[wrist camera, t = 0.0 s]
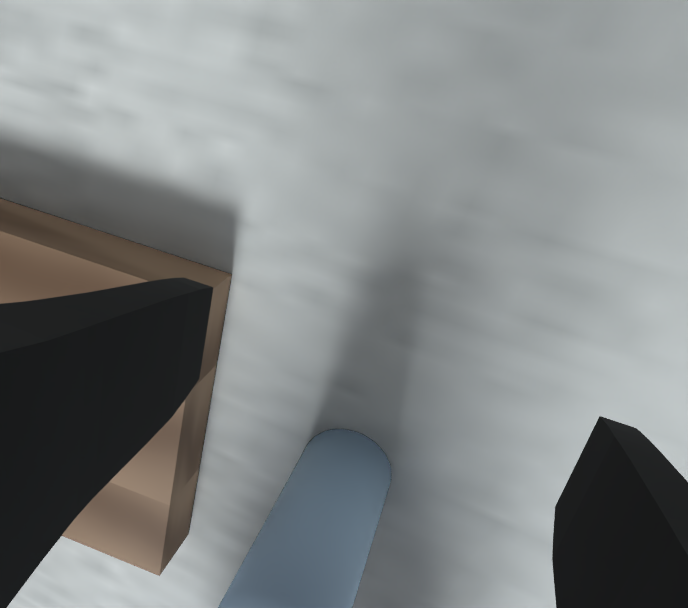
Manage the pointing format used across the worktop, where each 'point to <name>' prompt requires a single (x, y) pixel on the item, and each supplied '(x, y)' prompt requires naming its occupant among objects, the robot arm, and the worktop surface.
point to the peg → (317, 528)
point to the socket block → (185, 425)
